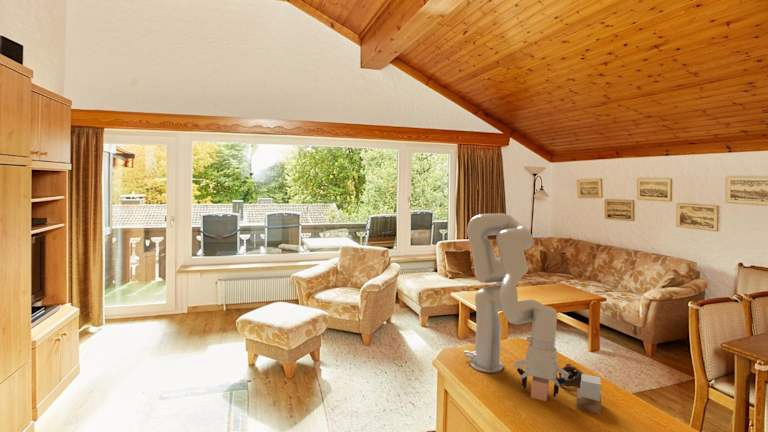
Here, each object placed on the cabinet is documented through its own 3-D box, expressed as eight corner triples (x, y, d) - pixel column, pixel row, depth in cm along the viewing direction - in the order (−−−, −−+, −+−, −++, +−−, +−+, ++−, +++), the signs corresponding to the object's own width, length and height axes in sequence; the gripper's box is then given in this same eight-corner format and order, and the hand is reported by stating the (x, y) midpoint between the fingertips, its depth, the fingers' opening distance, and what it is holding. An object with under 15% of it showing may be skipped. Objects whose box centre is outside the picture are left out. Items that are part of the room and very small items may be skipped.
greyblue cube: (580, 396, 135) (581, 380, 135) (580, 389, 140) (581, 373, 140) (599, 401, 133) (601, 384, 133) (598, 393, 138) (599, 377, 138)
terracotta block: (530, 397, 141) (531, 380, 141) (532, 390, 146) (533, 374, 145) (546, 401, 139) (547, 384, 139) (547, 394, 144) (548, 377, 143)
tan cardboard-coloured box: (576, 409, 135) (577, 397, 135) (576, 399, 142) (577, 387, 141) (600, 415, 132) (601, 403, 132) (599, 404, 139) (600, 393, 138)
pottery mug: (594, 394, 145) (587, 377, 143) (567, 403, 147) (560, 385, 145) (581, 371, 157) (574, 354, 154) (556, 379, 159) (549, 362, 156)
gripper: (514, 341, 141) (511, 390, 143) (570, 352, 134) (566, 403, 135) (518, 334, 148) (515, 380, 150) (571, 344, 140) (567, 392, 142)
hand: (539, 391), depth 142 cm, fingers open, 9 cm apart
